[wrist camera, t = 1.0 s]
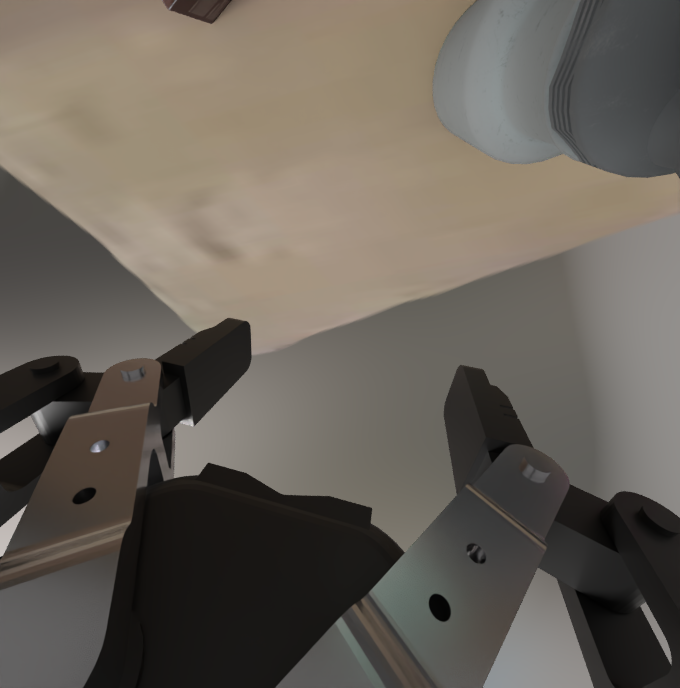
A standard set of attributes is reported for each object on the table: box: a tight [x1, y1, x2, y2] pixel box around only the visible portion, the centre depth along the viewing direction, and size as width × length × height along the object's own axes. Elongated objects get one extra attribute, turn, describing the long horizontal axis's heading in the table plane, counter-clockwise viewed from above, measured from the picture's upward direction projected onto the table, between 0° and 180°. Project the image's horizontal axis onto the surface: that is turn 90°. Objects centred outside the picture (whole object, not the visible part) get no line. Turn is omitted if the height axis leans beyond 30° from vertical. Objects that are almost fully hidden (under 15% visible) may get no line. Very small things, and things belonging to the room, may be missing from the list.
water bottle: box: [433, 0, 680, 178], centre depth 16 cm, size 10×10×28 cm
